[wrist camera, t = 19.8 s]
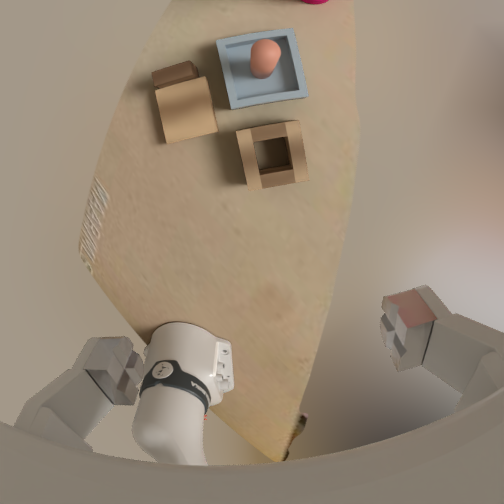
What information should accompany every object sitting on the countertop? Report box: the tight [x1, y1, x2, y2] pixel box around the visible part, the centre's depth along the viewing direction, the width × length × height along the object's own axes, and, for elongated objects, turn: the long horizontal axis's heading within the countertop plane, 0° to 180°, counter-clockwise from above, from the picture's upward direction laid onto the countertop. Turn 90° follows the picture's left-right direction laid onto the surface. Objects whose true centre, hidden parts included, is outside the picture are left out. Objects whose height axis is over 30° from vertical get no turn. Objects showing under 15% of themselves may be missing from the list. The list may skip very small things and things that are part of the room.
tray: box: [216, 28, 309, 110], centre depth 32 cm, size 10×10×3 cm
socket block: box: [236, 120, 309, 191], centre depth 37 cm, size 8×8×4 cm
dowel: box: [250, 39, 281, 79], centre depth 28 cm, size 3×3×10 cm
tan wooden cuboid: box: [155, 76, 219, 144], centre depth 35 cm, size 8×7×2 cm
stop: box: [152, 61, 199, 88], centre depth 31 cm, size 2×5×5 cm, turn 101°
